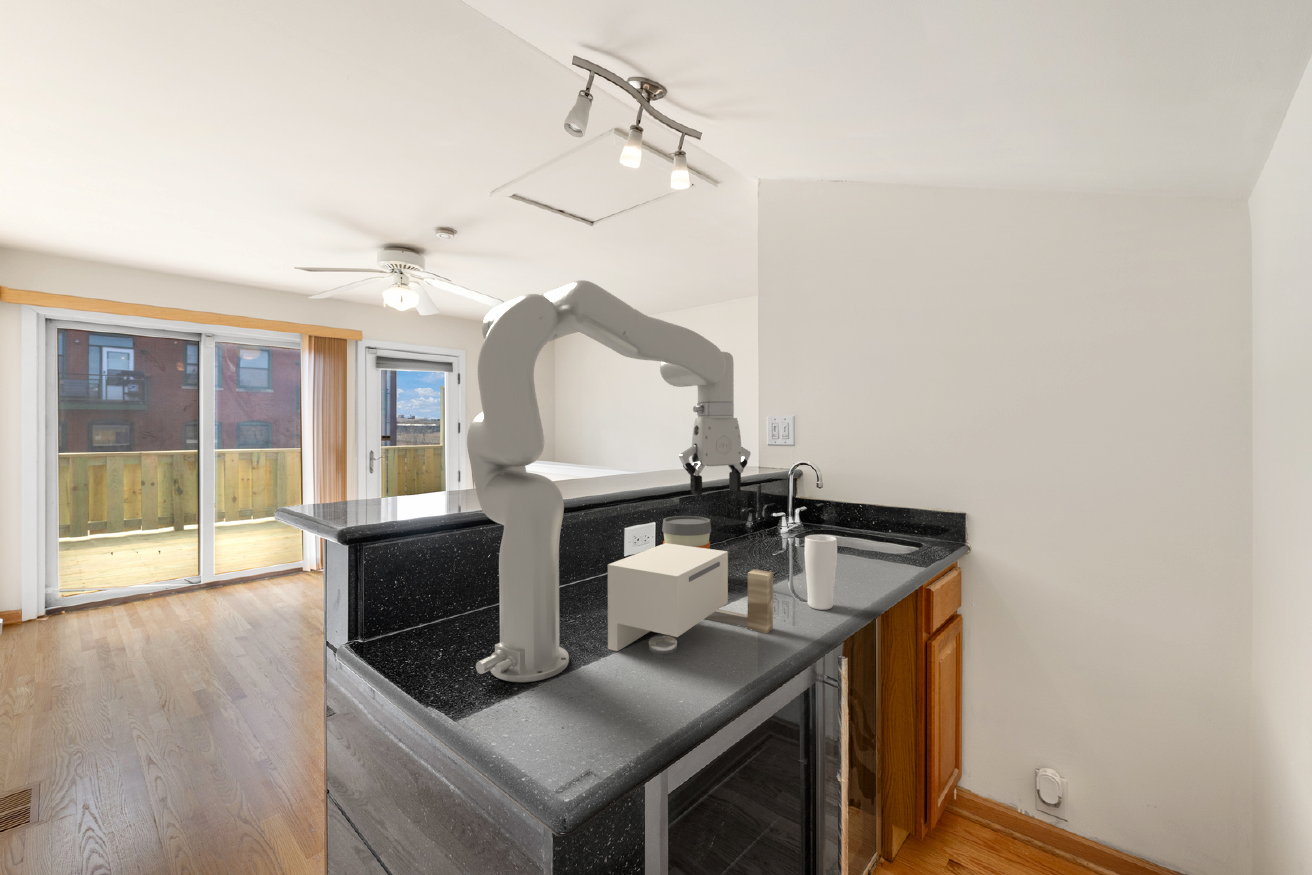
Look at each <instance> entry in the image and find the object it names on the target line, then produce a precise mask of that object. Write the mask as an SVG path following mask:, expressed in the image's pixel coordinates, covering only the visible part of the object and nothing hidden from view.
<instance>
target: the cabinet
mask: <svg viewBox="0 0 1312 875" xmlns="http://www.w3.org/2000/svg"><path fill="white" fill-rule="evenodd" d="M728 576H729V551H727V550H719V549H713V548H712V549H711V548H710V549H706V548H698V547H691V546H683V545H676V544H668V543H664V544H663V543H662V544H660V545H657V546H653V547H652V548H648V549H645V550H643V551H641V552H637V553H635V554H632V555H630V556H627V557H625V558H622V559H618V560H616V561H614V562H611V563H608V564H607V649H608V650H609V651H614V652H619V651H620V650H622V649H624V648H625V647H627V646H629V645H630V644H632V643H633V642H635V641H637V640H638V639H640V638H642V637H643V636H645V635H646V634H648V633H650V632H653V633H657V634H662V635H665V636H670V637H673V638H679V637H680V636H681V635H683V634H684V633H686V632H687V631H689V630H690V629H692V628H693V627H694V626H696V625H698V624H699V623H700V622H701V621H703V620H706V619H705V618H706V617H708V616H709V615H710V614H712V613H713V612H715V611H716V610H718V609H720V608H722V607H724V606H725V605H727V604H728V602H729V599H728V598H729V596H728V594H729V592H728V590H729V589H728V588H729V586H728V585H729V582H728V581H729V580H728V579H729V577H728Z"/></svg>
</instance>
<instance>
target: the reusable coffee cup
mask: <svg viewBox="0 0 1312 875" xmlns="http://www.w3.org/2000/svg"><path fill="white" fill-rule="evenodd" d="M661 529H662V530H661V531H662V532H663V539H664V540H663V541H662V544H664V543H668V544H676V545H683V546H691V547H698V548H706V549H711V548H710V547H711V541H710V535H711V533H712V526H711V519H709V518H708V517H703V516H696V515H695V516H693V515H676V516H668V517H665V518H663V520H662V528H661Z"/></svg>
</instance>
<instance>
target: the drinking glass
mask: <svg viewBox="0 0 1312 875" xmlns="http://www.w3.org/2000/svg"><path fill="white" fill-rule="evenodd" d="M837 562H838V539H837V538H836V537H835V536H831V535H826V534H809V535H805V536H804V565H805V566H804V567H805V568H804V569H805V577H806V578H805V580H806V591H807V593H806V594H807V602H806V603H807V605H808V606H809V607H810V608H812V609H814V610H820V611H823V610H824V611H827V610H831V609H832V608H833V606H834V595H835V594H834V592H835V584H836V581H835V580H836V572H837V571H836V570H837Z"/></svg>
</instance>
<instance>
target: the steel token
mask: <svg viewBox="0 0 1312 875" xmlns="http://www.w3.org/2000/svg"><path fill="white" fill-rule="evenodd" d="M648 650H649V651H650V652H651V653H654V654H659V655H669V654H672V653H674V652H676V651H677V650H678V641H677V639H676V637H674V636H670V635H656V636H653V637H651V638H649V640H648Z"/></svg>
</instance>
